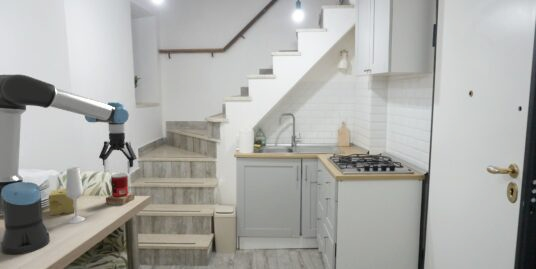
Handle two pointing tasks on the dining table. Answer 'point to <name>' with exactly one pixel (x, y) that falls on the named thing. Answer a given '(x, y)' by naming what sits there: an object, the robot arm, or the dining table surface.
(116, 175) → the canned food
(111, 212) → the dining table surface
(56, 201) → the cheese
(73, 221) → the champagne flute
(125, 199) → the plinth
